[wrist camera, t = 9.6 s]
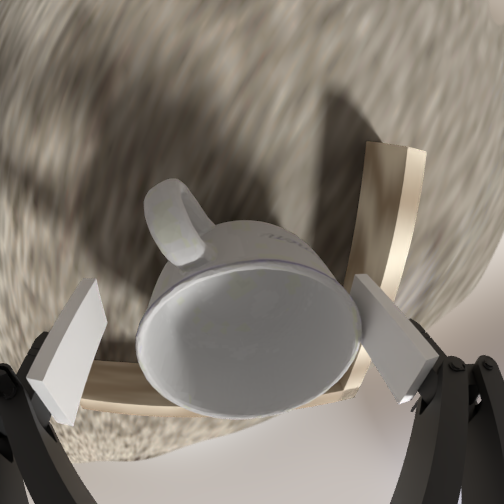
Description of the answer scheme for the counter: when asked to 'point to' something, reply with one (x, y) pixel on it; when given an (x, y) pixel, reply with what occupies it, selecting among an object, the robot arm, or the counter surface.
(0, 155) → the counter surface
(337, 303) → the teacup
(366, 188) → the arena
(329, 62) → the counter surface
